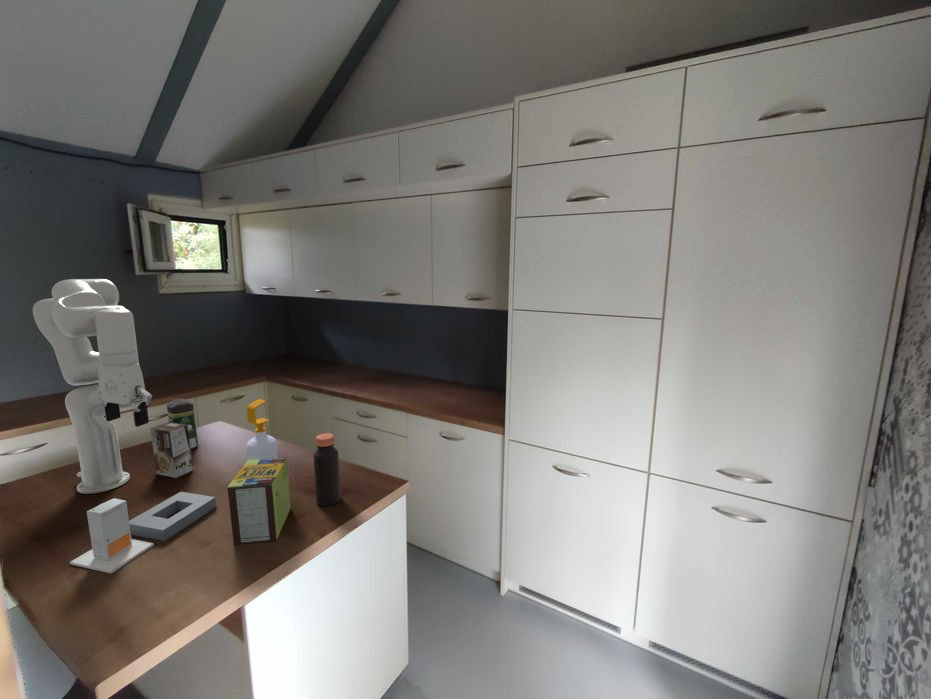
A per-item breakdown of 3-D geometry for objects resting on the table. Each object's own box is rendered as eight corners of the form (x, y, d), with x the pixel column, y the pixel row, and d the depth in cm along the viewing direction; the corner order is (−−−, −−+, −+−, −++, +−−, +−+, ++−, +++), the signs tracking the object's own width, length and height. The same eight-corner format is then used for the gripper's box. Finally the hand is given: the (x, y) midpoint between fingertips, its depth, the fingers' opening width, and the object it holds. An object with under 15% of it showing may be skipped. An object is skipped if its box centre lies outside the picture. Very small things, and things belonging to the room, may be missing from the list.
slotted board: (126, 533, 107) (125, 523, 107) (182, 501, 123) (180, 491, 122) (164, 541, 104) (163, 530, 104) (216, 506, 120) (215, 497, 119)
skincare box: (107, 561, 96) (99, 514, 94) (93, 558, 97) (85, 511, 95) (133, 545, 102) (127, 500, 100) (120, 542, 103) (113, 497, 101)
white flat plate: (70, 564, 96) (70, 561, 96) (115, 537, 106) (115, 535, 105) (111, 573, 93) (110, 571, 93) (153, 545, 103) (153, 543, 103)
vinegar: (312, 500, 123) (308, 436, 120) (333, 492, 128) (329, 430, 125) (323, 509, 119) (319, 443, 115) (345, 500, 124) (342, 436, 120)
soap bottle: (284, 469, 143) (279, 399, 138) (258, 480, 135) (252, 407, 131) (268, 462, 147) (262, 395, 143) (243, 473, 140) (236, 402, 135)
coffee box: (194, 470, 142) (188, 424, 139) (175, 478, 136) (169, 431, 133) (174, 465, 145) (168, 421, 142) (155, 474, 139) (149, 427, 136)
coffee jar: (169, 446, 160) (163, 399, 157) (193, 440, 166) (188, 395, 162) (176, 454, 153) (170, 405, 150) (200, 448, 159) (195, 400, 156)
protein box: (291, 507, 120) (287, 456, 117) (277, 541, 105) (272, 483, 102) (252, 510, 118) (247, 459, 115) (231, 545, 103) (225, 487, 100)
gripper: (77, 358, 105) (87, 422, 108) (130, 365, 101) (138, 432, 104) (109, 352, 112) (117, 413, 116) (160, 358, 108) (167, 421, 111)
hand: (127, 422), depth 110 cm, fingers open, 9 cm apart
